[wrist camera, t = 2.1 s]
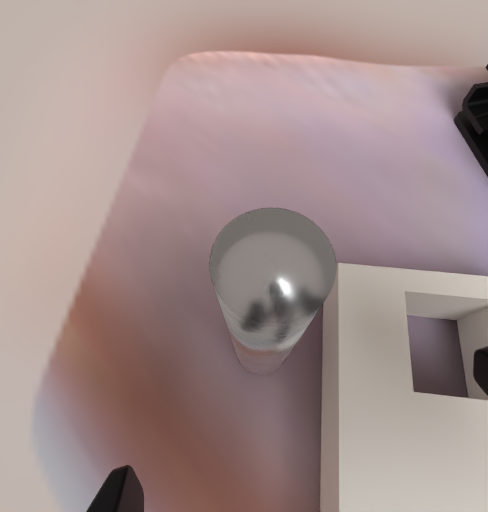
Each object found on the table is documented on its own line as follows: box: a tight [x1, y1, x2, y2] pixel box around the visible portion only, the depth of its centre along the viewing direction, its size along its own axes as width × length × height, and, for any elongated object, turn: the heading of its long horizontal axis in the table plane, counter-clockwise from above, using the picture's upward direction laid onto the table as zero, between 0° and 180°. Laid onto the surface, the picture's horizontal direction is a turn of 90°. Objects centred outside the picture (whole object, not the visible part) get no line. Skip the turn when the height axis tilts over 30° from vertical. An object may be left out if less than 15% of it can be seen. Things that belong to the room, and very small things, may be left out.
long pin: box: [209, 208, 336, 375], centre depth 14 cm, size 3×3×12 cm
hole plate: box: [320, 263, 488, 512], centre depth 15 cm, size 18×11×4 cm, turn 174°
